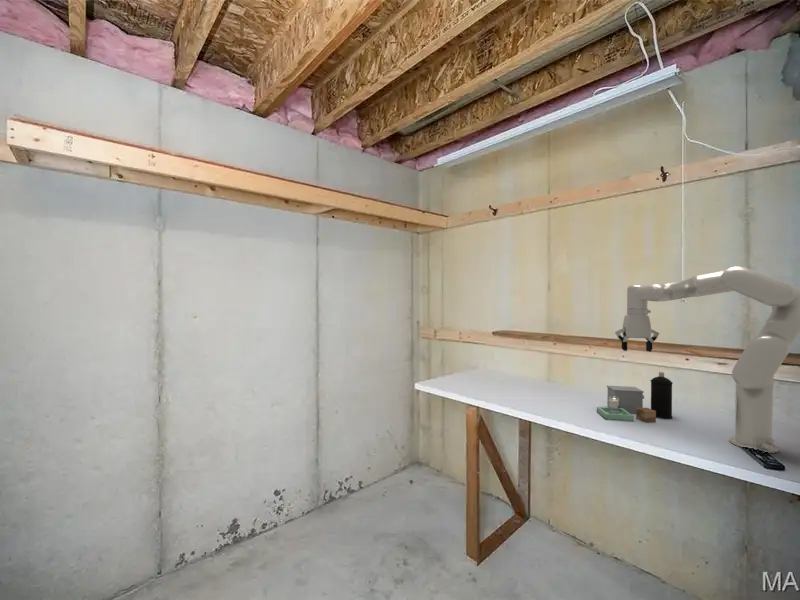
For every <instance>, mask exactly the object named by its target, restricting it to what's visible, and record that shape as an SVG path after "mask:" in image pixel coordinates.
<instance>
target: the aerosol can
mask: <svg viewBox="0 0 800 600" xmlns="http://www.w3.org/2000/svg"><path fill="white" fill-rule="evenodd" d="M673 384H674V383H673V381H671V379H670V378H667V377H665V372H662V371H659V372H658V376H656V377H652V379H650V409H652V410H654V411H656V419H657V418H658V419H663V420H672V419H673Z"/></svg>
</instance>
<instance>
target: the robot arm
mask: <svg viewBox="0 0 800 600" xmlns="http://www.w3.org/2000/svg"><path fill="white" fill-rule="evenodd" d="M730 292H736V293H738V294H741V295H743V296H745V297H747V298H750V299H752V300H755V301H757V302H760V304H761V303H762V304H763V305H766V306H769V307H771V313H770V314H769V316H768V318H767V320H766V321H765V324H764V325H763V327H762V329H761V330H760V331H759V333H758V334H757V335H755V336H754V337H753V338H751V339H750V341H749V342H748V344H747V345H746V346H745V348H744V350H743V351H742V353H741V355H740V356H739V358H738V360H737V361H736V363H735V365H734V366H733V368H732V371H731V376H732V379H733V381H734V382H735V401H734V402H735V404H734V405H735V407H734V408H735V409H734V411H735V415H734V416H735V417H734V419H735V420H734V422H735V423H734V435H732V436H730V437H729V439H728V440H729V442H730V443H731V444H732V445H735V446H737V447H739V446H740V447H739V448H742V447H749V448H754V449H759V450H763V451H766V452H768V454H775V452H776V453H778V452H779V449H780V446H779V445H777V444H775V439H774V438H773V406H774V404H773V403H774V401H773V400H774V399H773V398H774V383H775V382H774V380H775V377H774V376H775V374H776V372H777V371H778V370H779V368H780V367H781V365H782V363H783V362H784V361H785V360H786V357H787V356H788V355H789V353H790V350H791V348H792V345H793V343H794V342H795V340H796V339H797V337H798V335H799V333H800V291H799V290H798V289H797V288H795V287H794V286H792V285H791V284H789V283H787V282H784V281H780V280H778V279H775V278H772V277H770V276H767V275H765V274H761V273H759V272H757V271H755V270H752V269H750V268H749V267H746V266H742V265H741V266H740V265H735V266H731V267H730V266H729V267H728V268H727V269H722V270H717V271H713V272H707V273H701V274H697V275H694V276H691V277H690V278H687V279H683V280H679V281H674V282H669V283H665V284H664V283H662V284H661V283H652V284H645V285H644V284H630V285H629V286H627V290H626V315H624V318H623V322H622V323H623V324H622V328H620V329H619V330H616V331H615V332H614V334H615V335H616V336H617V339H618V340H620V341H621V349H622V351H624V352H627V351H628V342H627V341H628V340H629V339H645V340H646V342H645V350H646V351H647V352H652V350H653V343H654V342H655V341H656V340H657V339H658V337H659V335H660V332H659V331H656V330H654V329H652V324H651V319H650V316H649V314H651V313H652V312H651V310H650V309H649V308H648V302H656V303H657V302H659V303H660V302H669V301H674V300H675V301H677V300H681V299H687V298H695V297H696V298H699V297H704V296H711V295H715V294H716V295H717V294H723V293H730ZM652 334H653V335H652Z"/></svg>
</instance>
